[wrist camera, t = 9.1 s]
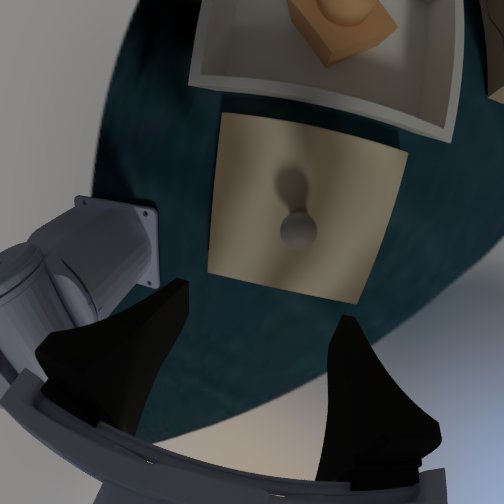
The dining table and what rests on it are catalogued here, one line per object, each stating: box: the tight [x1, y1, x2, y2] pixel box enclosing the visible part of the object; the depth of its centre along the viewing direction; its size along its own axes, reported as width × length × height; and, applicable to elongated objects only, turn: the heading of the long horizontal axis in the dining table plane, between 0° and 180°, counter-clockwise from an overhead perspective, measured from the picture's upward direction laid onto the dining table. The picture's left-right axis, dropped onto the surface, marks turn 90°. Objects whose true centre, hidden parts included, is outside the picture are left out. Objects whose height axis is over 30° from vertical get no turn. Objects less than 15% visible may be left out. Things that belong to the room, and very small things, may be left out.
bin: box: [188, 0, 464, 143], centre depth 11 cm, size 14×11×5 cm
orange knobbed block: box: [287, 0, 398, 68], centre depth 9 cm, size 4×4×8 cm
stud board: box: [208, 113, 408, 304], centre depth 17 cm, size 12×12×5 cm
